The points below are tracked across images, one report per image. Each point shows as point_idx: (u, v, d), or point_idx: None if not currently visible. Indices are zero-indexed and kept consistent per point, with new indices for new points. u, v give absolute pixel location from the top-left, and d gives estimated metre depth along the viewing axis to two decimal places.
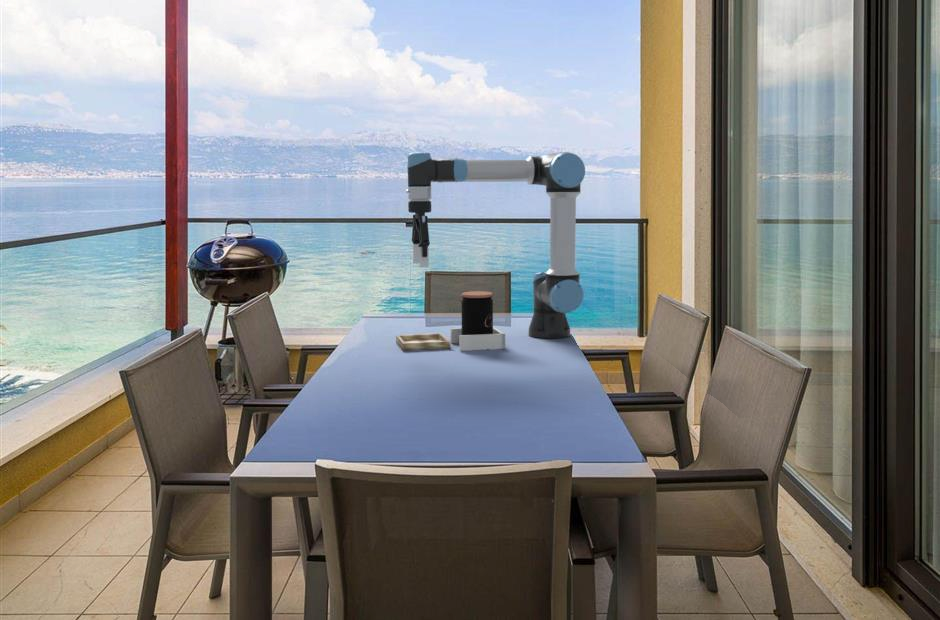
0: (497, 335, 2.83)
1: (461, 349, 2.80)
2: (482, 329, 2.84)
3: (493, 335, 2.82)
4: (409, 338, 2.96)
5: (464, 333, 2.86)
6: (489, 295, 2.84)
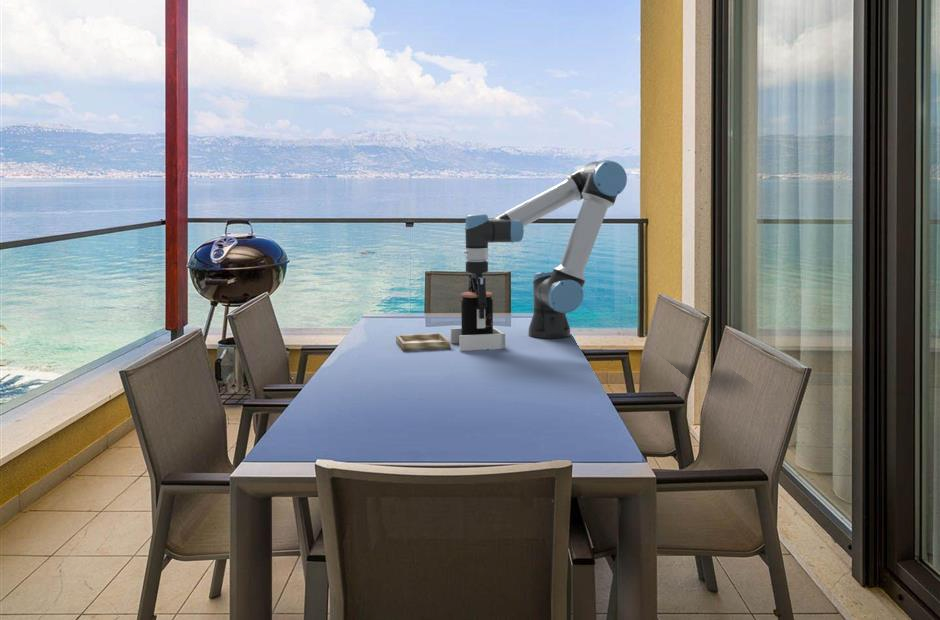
0: (497, 335, 2.83)
1: (461, 349, 2.80)
2: (482, 329, 2.84)
3: (493, 335, 2.82)
4: (409, 338, 2.96)
5: (464, 333, 2.86)
6: (489, 295, 2.84)
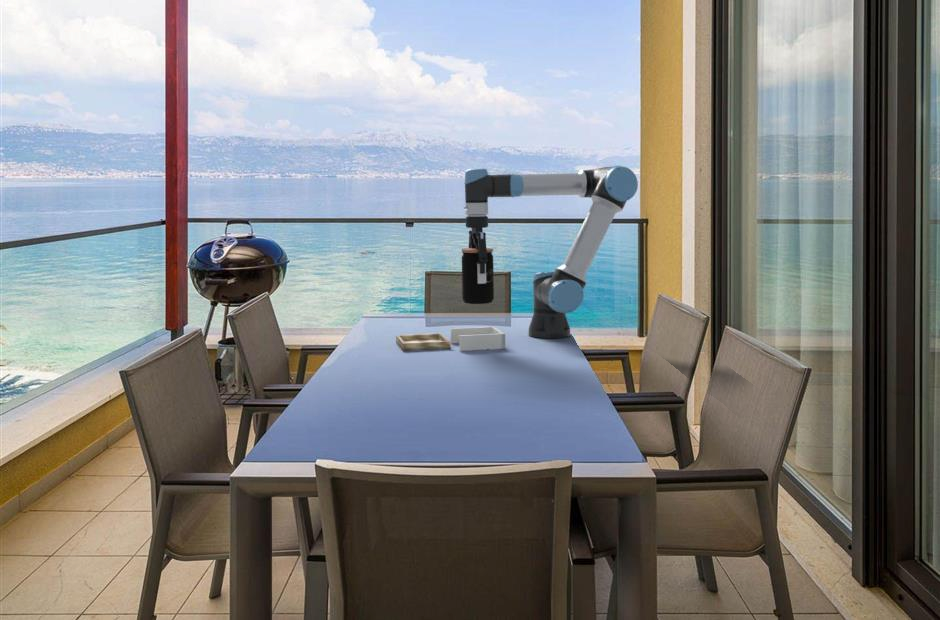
0: (497, 335, 2.83)
1: (461, 349, 2.80)
2: (482, 284, 2.81)
3: (493, 335, 2.82)
4: (409, 338, 2.96)
5: (465, 289, 2.84)
6: (489, 250, 2.82)
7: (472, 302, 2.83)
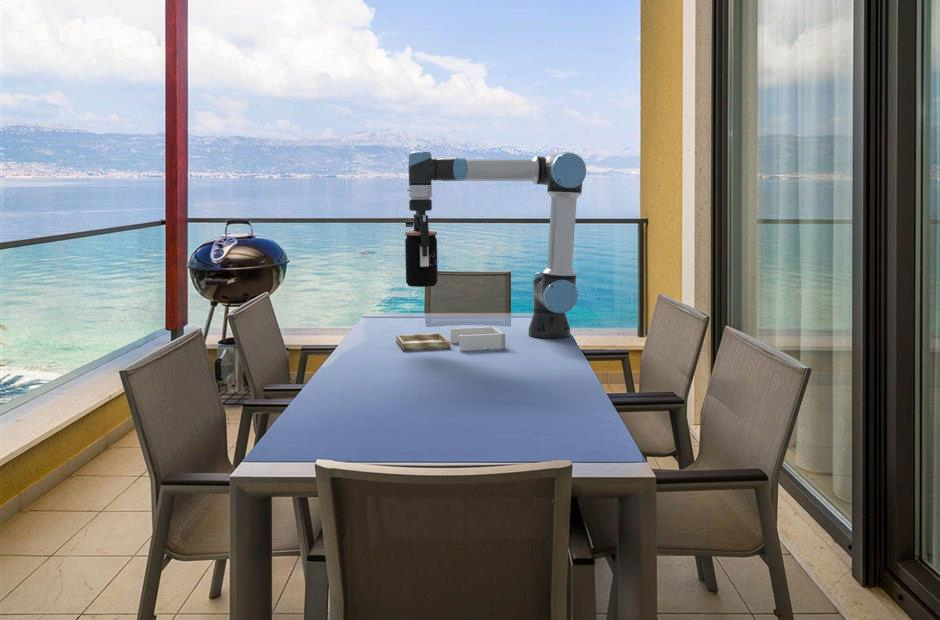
0: (497, 335, 2.83)
1: (461, 349, 2.80)
2: (425, 267, 2.81)
3: (493, 335, 2.82)
4: (409, 338, 2.96)
5: (408, 272, 2.84)
6: (432, 233, 2.82)
7: (415, 285, 2.83)
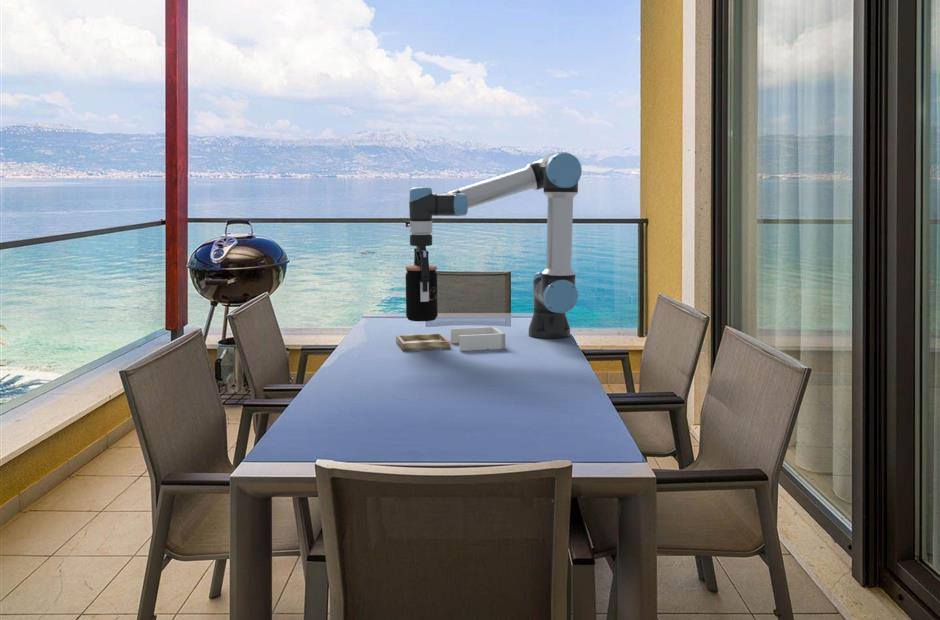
0: (497, 335, 2.83)
1: (461, 349, 2.80)
2: (425, 302, 2.83)
3: (493, 335, 2.82)
4: (409, 338, 2.96)
5: (408, 306, 2.85)
6: (433, 268, 2.83)
7: (415, 319, 2.84)
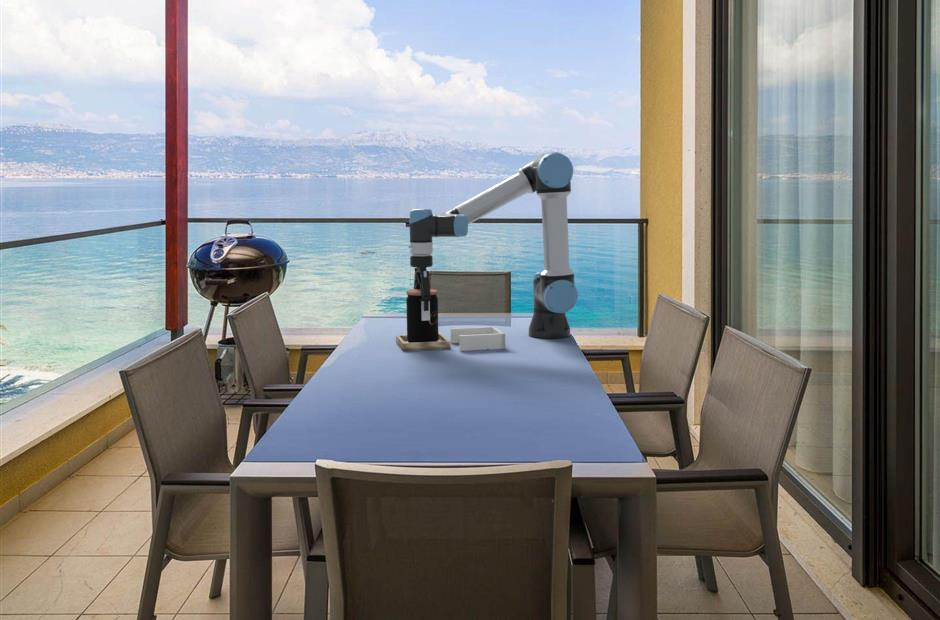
0: (497, 335, 2.83)
1: (461, 349, 2.80)
2: (426, 327, 2.84)
3: (493, 335, 2.82)
4: None
5: (409, 331, 2.87)
6: (433, 293, 2.84)
7: None
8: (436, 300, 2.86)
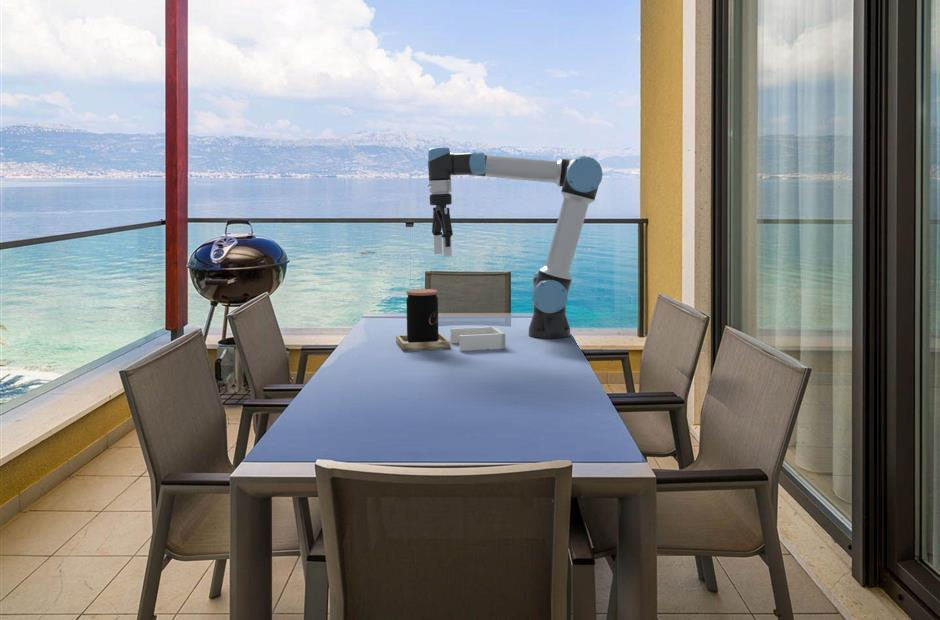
0: (497, 335, 2.83)
1: (461, 349, 2.80)
2: (426, 327, 2.84)
3: (493, 335, 2.82)
4: None
5: (409, 331, 2.87)
6: (433, 293, 2.84)
7: None
8: (436, 300, 2.86)
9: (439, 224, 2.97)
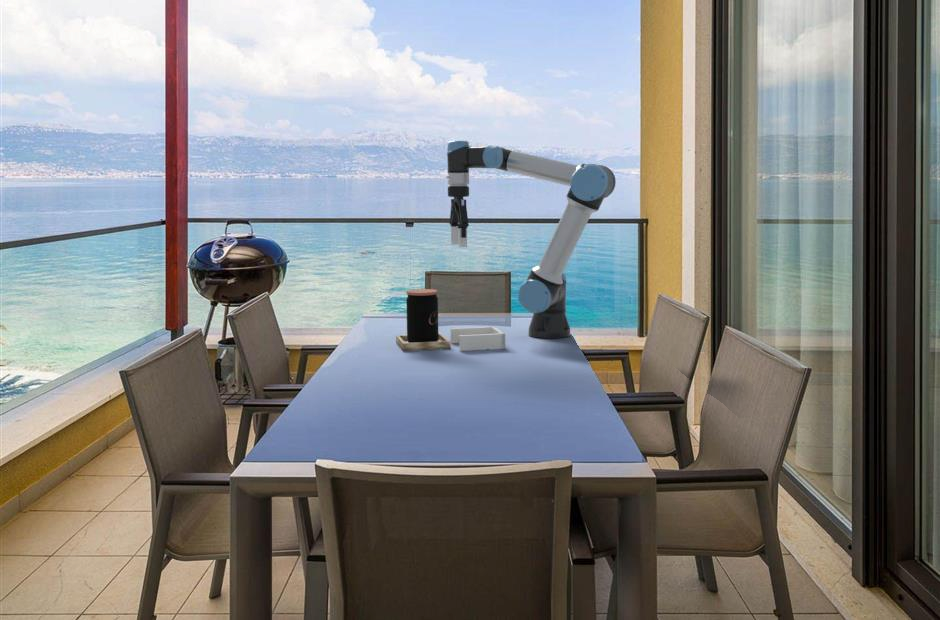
0: (497, 335, 2.83)
1: (461, 349, 2.80)
2: (426, 327, 2.84)
3: (493, 335, 2.82)
4: None
5: (409, 331, 2.87)
6: (433, 293, 2.84)
7: None
8: (436, 300, 2.86)
9: (456, 215, 3.05)
